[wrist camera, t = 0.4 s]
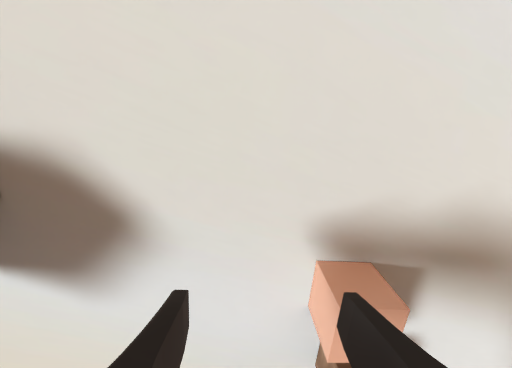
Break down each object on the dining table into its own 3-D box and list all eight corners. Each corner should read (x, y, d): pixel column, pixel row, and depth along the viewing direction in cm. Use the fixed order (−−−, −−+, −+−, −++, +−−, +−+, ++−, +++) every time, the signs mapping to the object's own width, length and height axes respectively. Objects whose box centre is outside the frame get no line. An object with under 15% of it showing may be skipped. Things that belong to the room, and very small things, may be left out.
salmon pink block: (358, 307, 24) (392, 362, 19) (308, 306, 23) (327, 362, 18) (370, 262, 22) (410, 309, 17) (316, 260, 22) (340, 308, 17)
